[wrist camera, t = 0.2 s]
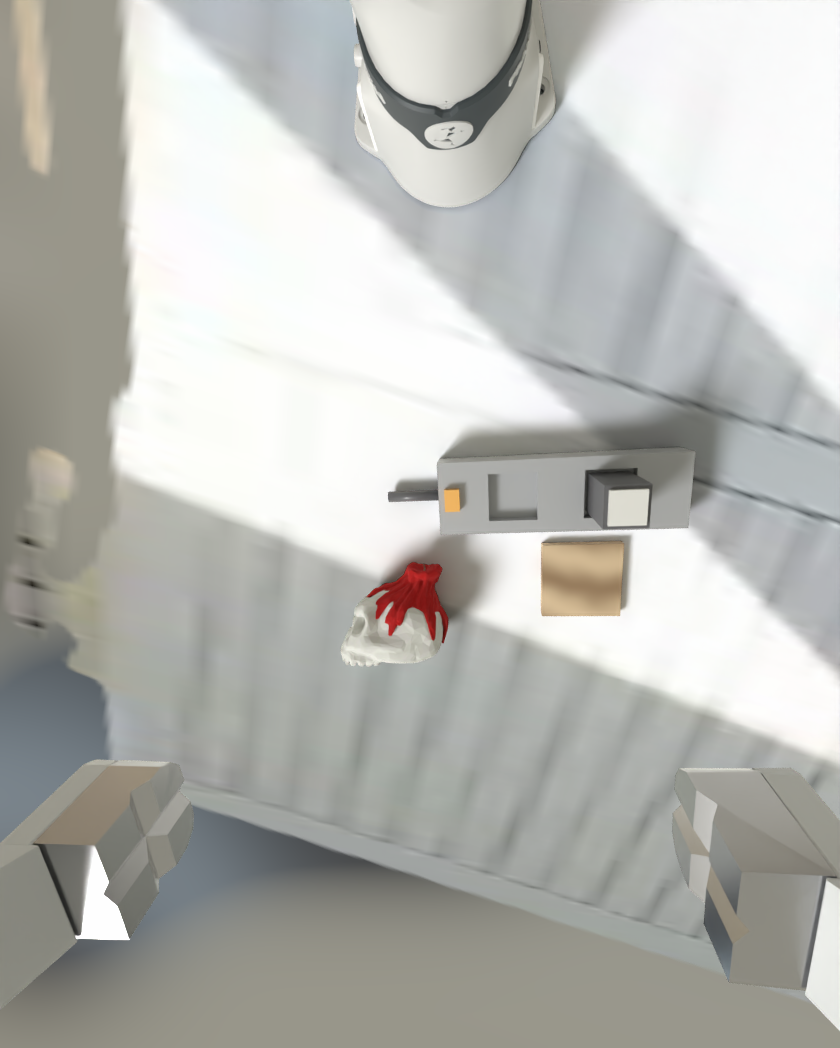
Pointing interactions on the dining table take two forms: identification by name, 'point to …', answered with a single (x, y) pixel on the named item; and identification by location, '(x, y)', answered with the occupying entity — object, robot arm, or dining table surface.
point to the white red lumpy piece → (398, 621)
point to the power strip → (551, 490)
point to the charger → (619, 500)
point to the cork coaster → (581, 578)
